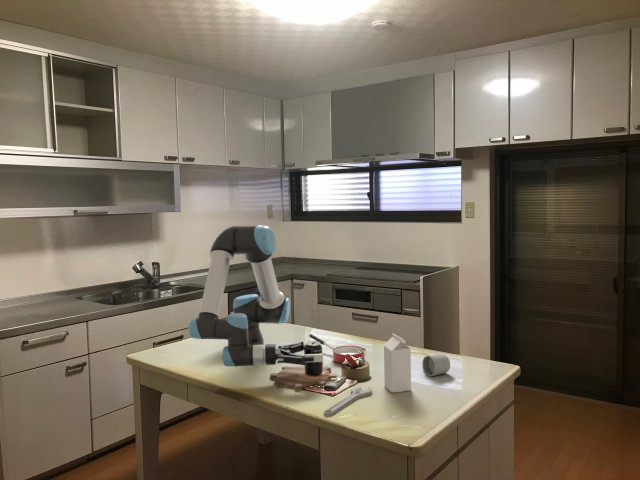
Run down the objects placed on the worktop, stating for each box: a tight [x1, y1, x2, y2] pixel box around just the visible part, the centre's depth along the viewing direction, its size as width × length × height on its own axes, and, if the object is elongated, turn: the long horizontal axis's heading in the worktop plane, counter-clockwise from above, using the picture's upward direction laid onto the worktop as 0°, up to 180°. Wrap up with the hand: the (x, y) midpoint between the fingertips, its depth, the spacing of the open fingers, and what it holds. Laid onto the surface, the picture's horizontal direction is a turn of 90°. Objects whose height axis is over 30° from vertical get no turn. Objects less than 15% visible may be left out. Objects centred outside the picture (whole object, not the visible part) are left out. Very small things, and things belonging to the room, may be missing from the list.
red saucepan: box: [309, 333, 365, 365], centre depth 226 cm, size 32×13×6 cm, turn 45°
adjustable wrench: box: [323, 386, 373, 417], centre depth 175 cm, size 25×6×2 cm, turn 140°
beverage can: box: [303, 340, 324, 376], centre depth 198 cm, size 7×7×12 cm
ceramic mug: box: [422, 353, 451, 377], centre depth 201 cm, size 11×8×8 cm
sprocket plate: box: [269, 365, 338, 392], centre depth 199 cm, size 25×25×2 cm
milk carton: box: [383, 333, 412, 394], centre depth 185 cm, size 7×7×19 cm
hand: (321, 352), depth 198 cm, fingers open, 13 cm apart
